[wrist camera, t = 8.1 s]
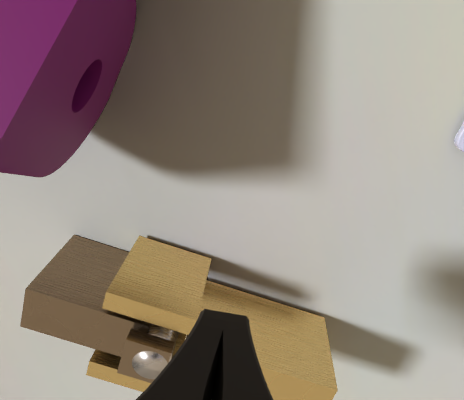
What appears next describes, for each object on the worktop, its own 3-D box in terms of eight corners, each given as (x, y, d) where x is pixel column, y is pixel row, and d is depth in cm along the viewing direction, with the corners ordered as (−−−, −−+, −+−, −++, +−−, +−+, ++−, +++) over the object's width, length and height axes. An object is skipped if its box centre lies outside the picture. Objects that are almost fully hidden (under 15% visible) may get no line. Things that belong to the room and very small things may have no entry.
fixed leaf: (196, 273, 23) (174, 352, 18) (186, 304, 24) (161, 388, 19) (74, 234, 23) (13, 302, 18) (68, 267, 24) (8, 341, 19)
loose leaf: (334, 298, 23) (350, 368, 18) (300, 363, 25) (307, 441, 20) (139, 235, 22) (106, 291, 18) (120, 307, 24) (86, 374, 20)
